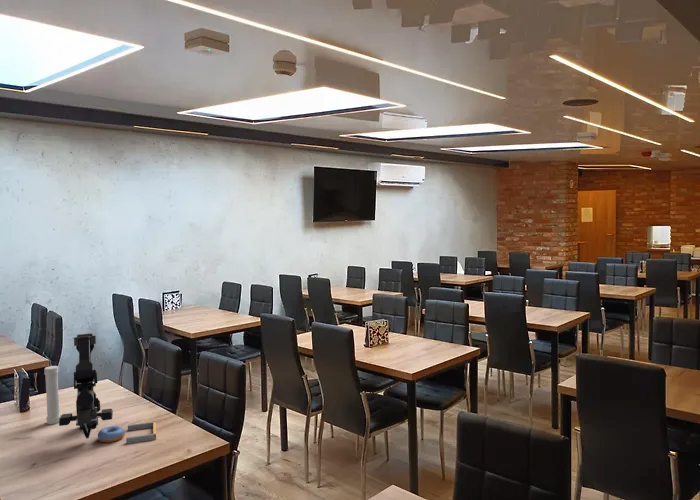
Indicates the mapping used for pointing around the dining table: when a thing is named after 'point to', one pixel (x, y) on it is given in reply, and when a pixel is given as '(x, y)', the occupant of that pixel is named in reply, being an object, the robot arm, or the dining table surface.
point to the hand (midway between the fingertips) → (87, 438)
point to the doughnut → (111, 434)
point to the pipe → (52, 394)
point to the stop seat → (142, 437)
